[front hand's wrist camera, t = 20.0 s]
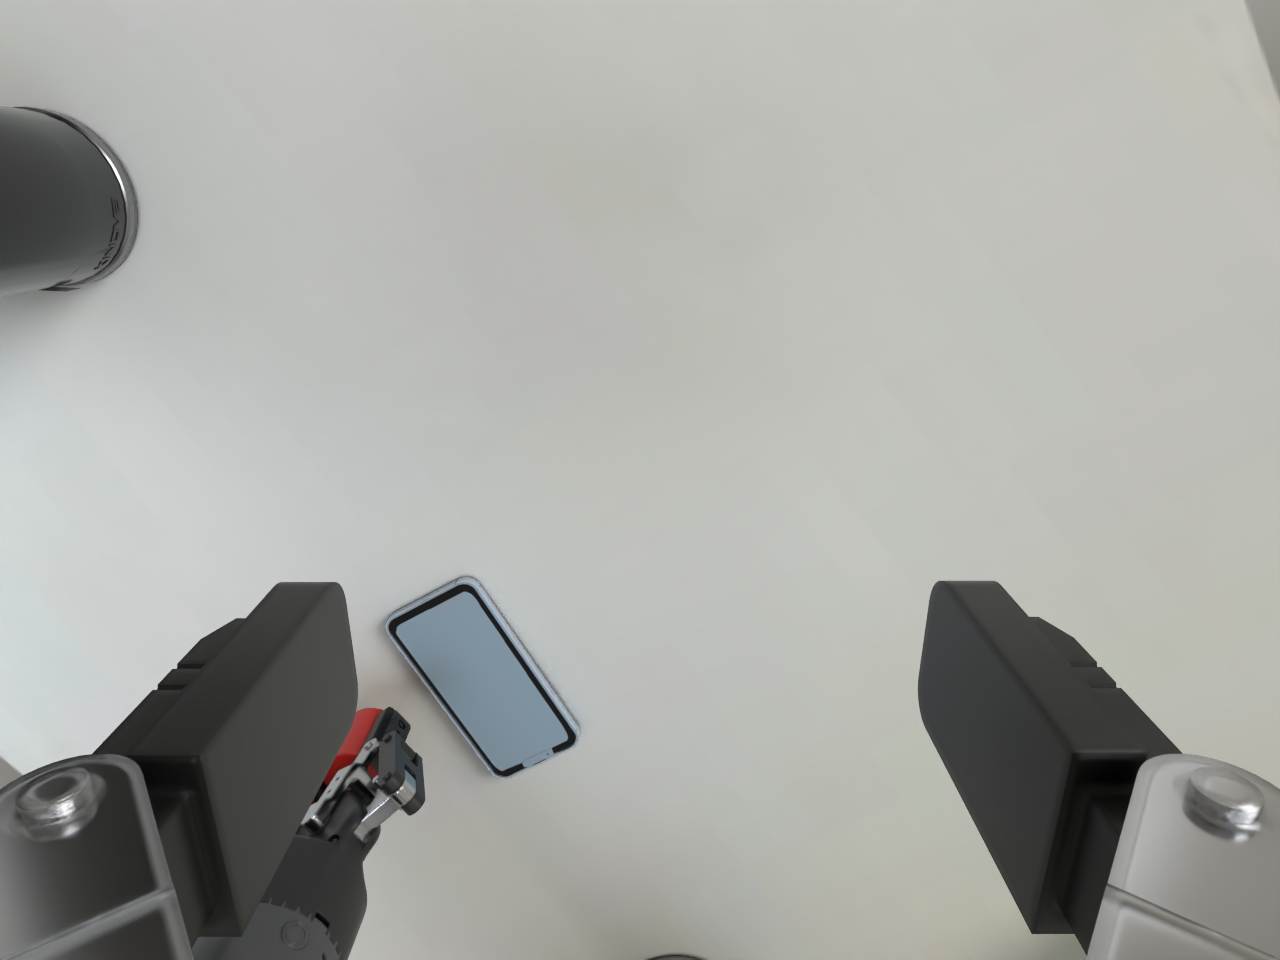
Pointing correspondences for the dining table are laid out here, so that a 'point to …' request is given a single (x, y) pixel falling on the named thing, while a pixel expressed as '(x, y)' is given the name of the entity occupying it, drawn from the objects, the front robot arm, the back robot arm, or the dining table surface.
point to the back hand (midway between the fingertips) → (372, 733)
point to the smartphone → (483, 678)
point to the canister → (354, 743)
